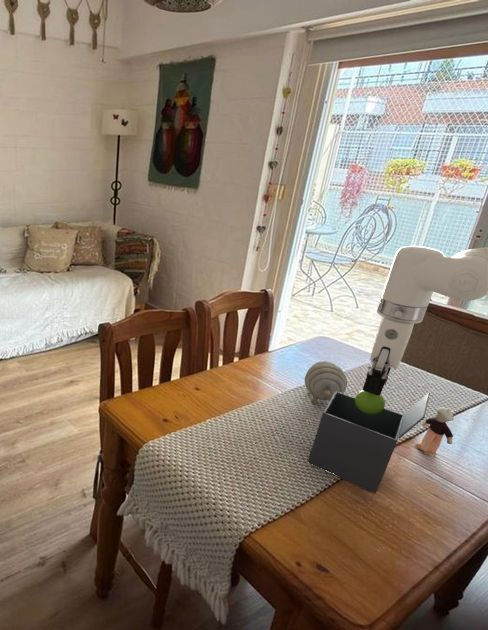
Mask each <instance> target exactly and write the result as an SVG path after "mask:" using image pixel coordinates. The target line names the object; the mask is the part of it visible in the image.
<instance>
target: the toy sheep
mask: <svg viewBox="0 0 488 630" xmlns="http://www.w3.org/2000/svg"><path fill="white" fill-rule="evenodd" d="M304 385H305V388H306V390H307V391H308V393H309V394H310V395H312V398H311V399H312V400H311V403H312V404H314V405H316V404H317V403H318V401H319V400H322V401H328V403H329V402H330V400H331V398H332V396H333V395H334V393H335V391H337V392H340V393H342V394H345V392H346V390H347V387H348V378H347V376H346V374H345V371H343V370H342V368H341V367H340V366H338V365H337V364H336V363H334V362H332V361H327V360H321V361H317V362H314V363H313V364H312V365H311V367H309V368H308V370H307V371H306V374H305V376H304Z"/></svg>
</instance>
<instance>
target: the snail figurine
mask: <svg viewBox="0 0 488 630" xmlns="http://www.w3.org/2000/svg"><path fill="white" fill-rule="evenodd" d="M371 367H372V366H370V365H368V366H367V369H368V370H367V372H366V376H365V377H366V378H367V375H368V373H370V370H371ZM382 376H383V375H382ZM366 378H365V381H366ZM385 379H386V381H385V384H384V386H385V385H386V384H387V382H388V379H389V374H386V377H385ZM365 381H364V382H365ZM354 398H355V404H356V406H357V408H358V409H359V410H360V411H362V412H364V413H366V414H377V413H379V412H381V411H382V410H383V409H384V408H385V406H386V400H385V397H384V396H383V395H382V394H381V395H380V396H378V395H375V394H372V393H369V392H366V391H363V389H361V390H360V391H359V392H357V394H356V395H355V397H354Z"/></svg>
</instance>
